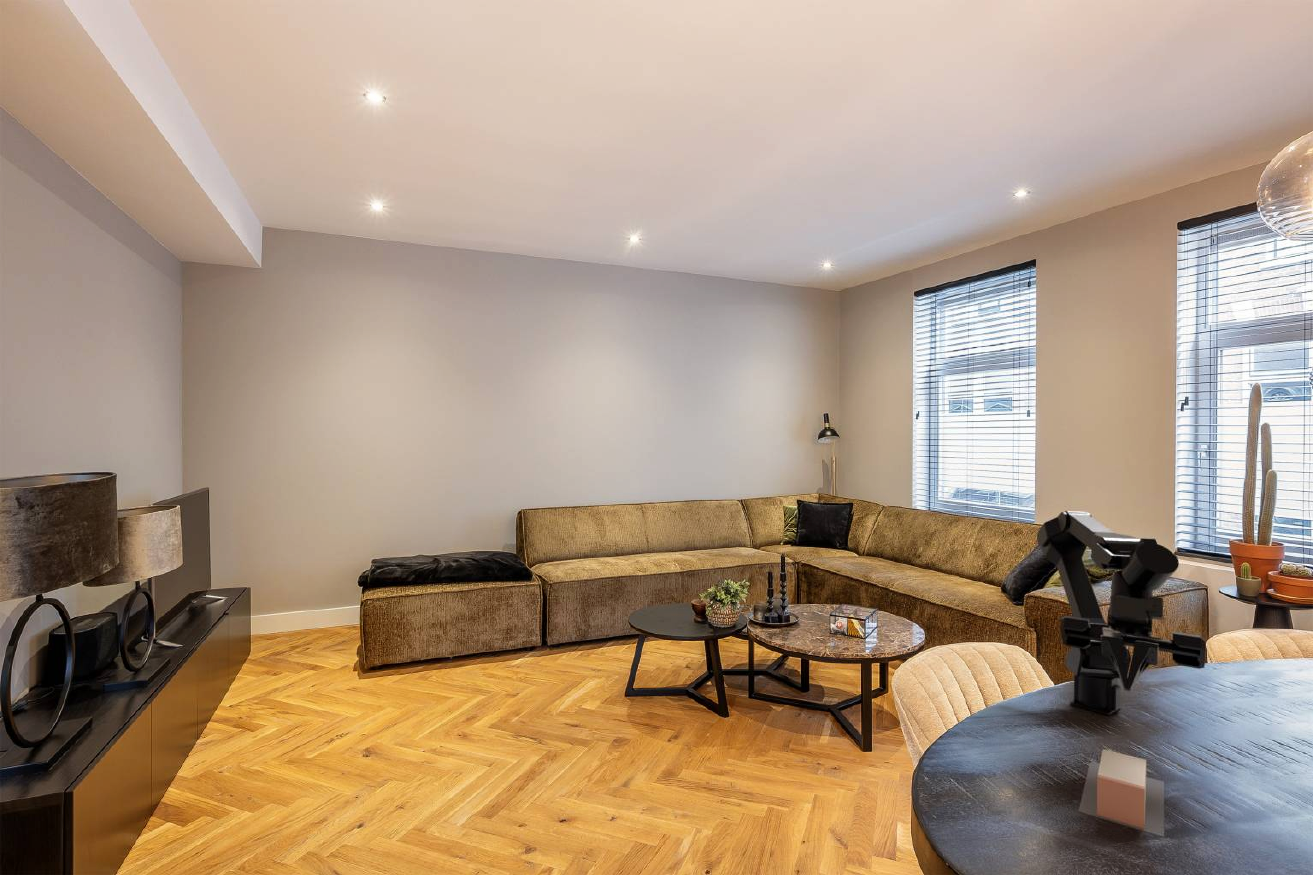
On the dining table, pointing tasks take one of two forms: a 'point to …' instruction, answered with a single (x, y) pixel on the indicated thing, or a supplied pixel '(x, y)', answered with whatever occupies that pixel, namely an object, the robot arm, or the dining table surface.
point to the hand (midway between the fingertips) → (1127, 689)
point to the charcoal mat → (1152, 806)
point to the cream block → (1122, 788)
